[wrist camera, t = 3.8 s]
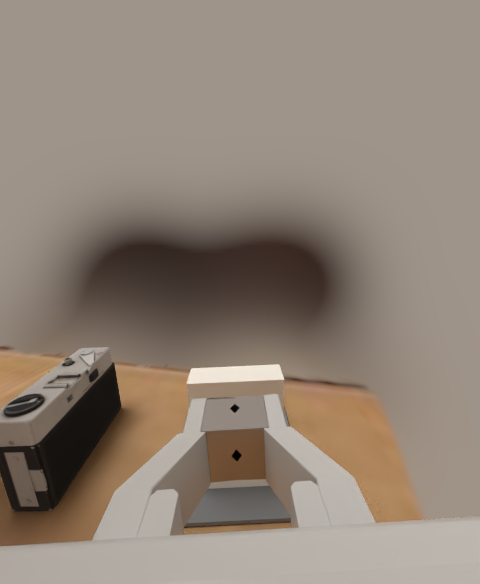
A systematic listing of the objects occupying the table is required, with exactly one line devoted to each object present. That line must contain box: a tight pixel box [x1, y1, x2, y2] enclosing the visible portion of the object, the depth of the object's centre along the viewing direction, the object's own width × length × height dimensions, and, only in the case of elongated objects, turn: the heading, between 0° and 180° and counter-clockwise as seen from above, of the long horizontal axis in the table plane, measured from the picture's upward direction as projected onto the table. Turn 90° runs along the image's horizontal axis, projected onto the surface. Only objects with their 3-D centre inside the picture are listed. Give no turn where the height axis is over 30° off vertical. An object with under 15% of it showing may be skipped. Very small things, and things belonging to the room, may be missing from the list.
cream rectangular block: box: [187, 365, 284, 489], centre depth 24 cm, size 8×2×11 cm, turn 91°
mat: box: [185, 409, 291, 527], centre depth 30 cm, size 12×18×1 cm, turn 1°
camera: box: [0, 347, 121, 511], centre depth 29 cm, size 14×9×10 cm, turn 172°
